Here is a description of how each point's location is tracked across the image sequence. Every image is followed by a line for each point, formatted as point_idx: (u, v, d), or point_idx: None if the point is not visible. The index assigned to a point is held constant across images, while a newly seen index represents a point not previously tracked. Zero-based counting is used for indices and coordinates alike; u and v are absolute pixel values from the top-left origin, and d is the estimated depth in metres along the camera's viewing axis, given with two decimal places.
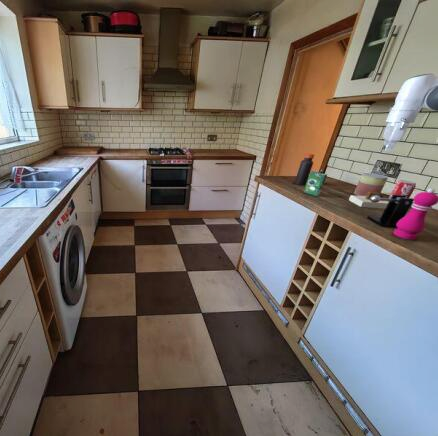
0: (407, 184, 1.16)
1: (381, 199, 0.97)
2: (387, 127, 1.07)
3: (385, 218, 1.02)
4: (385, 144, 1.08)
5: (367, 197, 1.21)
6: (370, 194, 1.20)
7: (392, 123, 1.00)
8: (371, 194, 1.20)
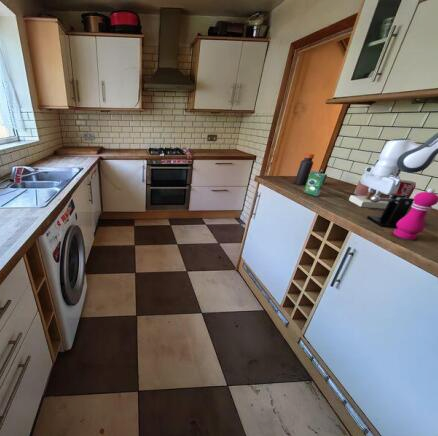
0: (407, 184, 1.16)
1: (381, 199, 0.97)
2: (365, 175, 1.24)
3: (385, 218, 1.02)
4: None
5: (367, 197, 1.21)
6: (370, 194, 1.20)
7: (381, 176, 1.14)
8: (371, 194, 1.20)
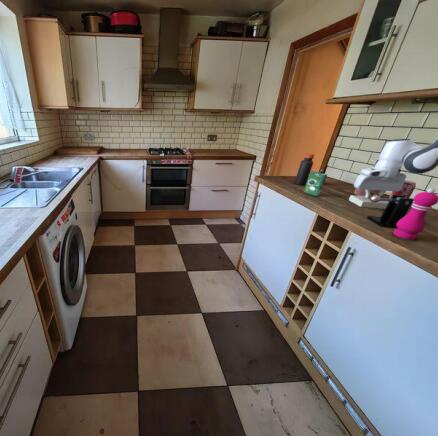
0: (407, 184, 1.16)
1: (381, 199, 0.97)
2: (366, 180, 1.16)
3: (385, 218, 1.02)
4: None
5: None
6: None
7: (390, 177, 1.14)
8: None
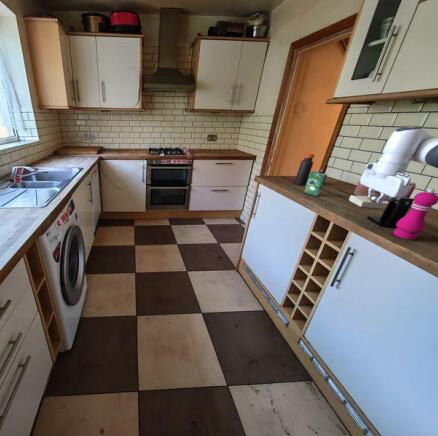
0: None
1: None
2: (366, 174, 1.01)
3: (385, 218, 1.02)
4: (371, 193, 1.00)
5: None
6: None
7: (385, 175, 0.92)
8: None
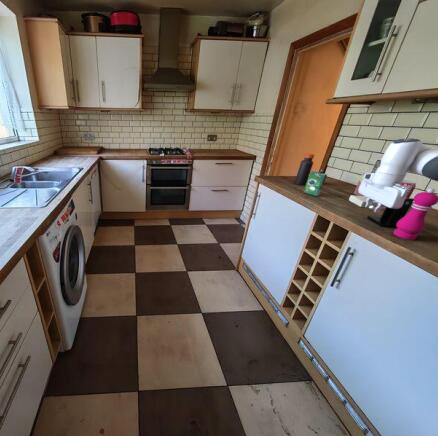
0: (407, 184, 1.16)
1: None
2: (364, 183, 1.03)
3: (385, 218, 1.02)
4: (369, 203, 1.02)
5: None
6: None
7: (382, 186, 0.93)
8: None
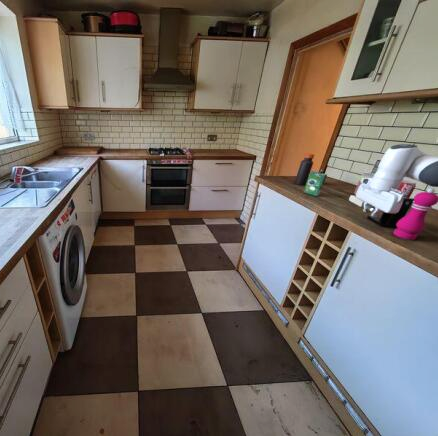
0: (407, 184, 1.16)
1: None
2: (362, 188, 1.04)
3: (385, 218, 1.02)
4: (366, 207, 1.03)
5: None
6: None
7: (380, 190, 0.94)
8: None
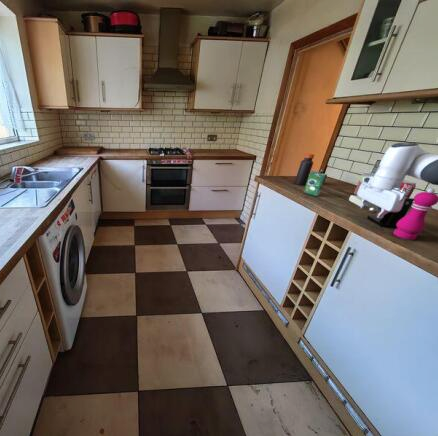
0: (407, 184, 1.16)
1: (379, 208, 0.99)
2: (363, 187, 1.04)
3: (385, 218, 1.02)
4: (364, 204, 1.04)
5: None
6: None
7: (381, 189, 0.94)
8: None
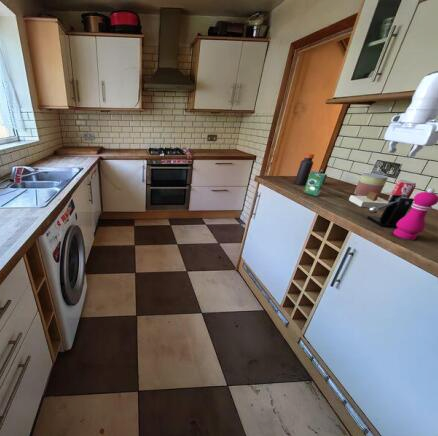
0: (407, 184, 1.16)
1: (379, 208, 0.99)
2: (391, 128, 0.98)
3: (385, 218, 1.02)
4: (392, 147, 0.98)
5: (376, 199, 1.19)
6: None
7: (414, 124, 0.88)
8: None
